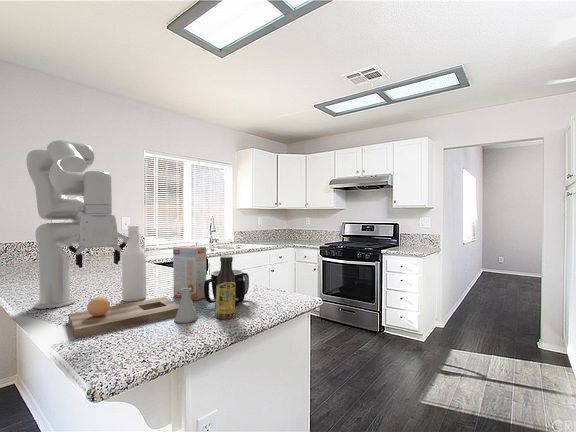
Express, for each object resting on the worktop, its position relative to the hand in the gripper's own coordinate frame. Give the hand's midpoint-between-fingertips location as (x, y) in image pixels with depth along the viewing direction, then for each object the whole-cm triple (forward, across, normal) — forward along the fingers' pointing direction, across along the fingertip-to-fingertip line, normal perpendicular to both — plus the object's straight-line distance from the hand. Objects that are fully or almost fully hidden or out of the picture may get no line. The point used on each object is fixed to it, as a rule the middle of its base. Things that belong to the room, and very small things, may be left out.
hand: (98, 265), depth 95 cm
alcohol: (+18, +16, +24) cm, 34 cm away
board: (+18, +8, 0) cm, 20 cm away
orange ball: (+13, 0, 0) cm, 13 cm away
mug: (+19, +41, -8) cm, 46 cm away
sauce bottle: (+19, +33, -21) cm, 43 cm away
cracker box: (+19, +34, +11) cm, 40 cm away
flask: (+19, +22, -15) cm, 32 cm away
